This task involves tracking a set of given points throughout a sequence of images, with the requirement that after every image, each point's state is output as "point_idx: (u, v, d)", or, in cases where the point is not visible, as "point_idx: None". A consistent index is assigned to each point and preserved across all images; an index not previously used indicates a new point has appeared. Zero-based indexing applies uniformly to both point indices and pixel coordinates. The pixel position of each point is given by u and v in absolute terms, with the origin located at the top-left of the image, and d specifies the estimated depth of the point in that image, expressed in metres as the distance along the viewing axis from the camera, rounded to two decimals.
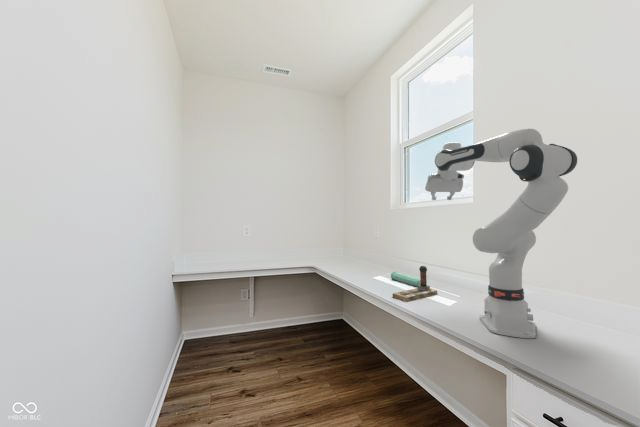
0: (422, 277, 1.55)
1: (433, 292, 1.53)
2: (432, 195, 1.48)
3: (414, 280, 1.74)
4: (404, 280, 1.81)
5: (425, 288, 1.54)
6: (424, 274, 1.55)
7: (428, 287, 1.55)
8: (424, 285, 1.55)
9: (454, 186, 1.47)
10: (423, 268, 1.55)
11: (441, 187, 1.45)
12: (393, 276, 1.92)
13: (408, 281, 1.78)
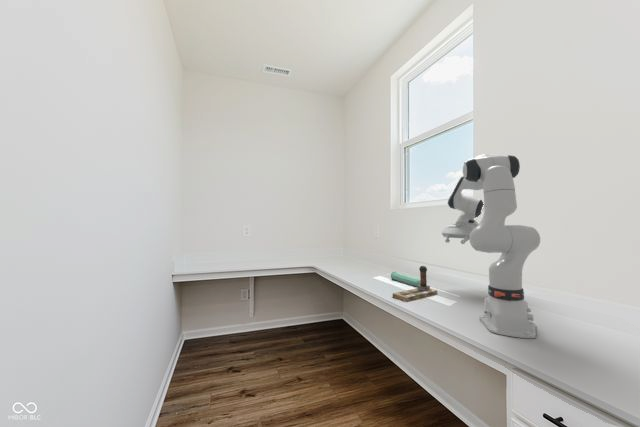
0: (422, 277, 1.55)
1: (433, 292, 1.53)
2: None
3: (414, 280, 1.73)
4: (404, 280, 1.81)
5: (425, 288, 1.54)
6: (424, 274, 1.55)
7: (428, 287, 1.55)
8: (424, 285, 1.55)
9: (466, 230, 1.56)
10: (423, 268, 1.55)
11: (453, 230, 1.63)
12: (393, 276, 1.91)
13: (408, 281, 1.78)
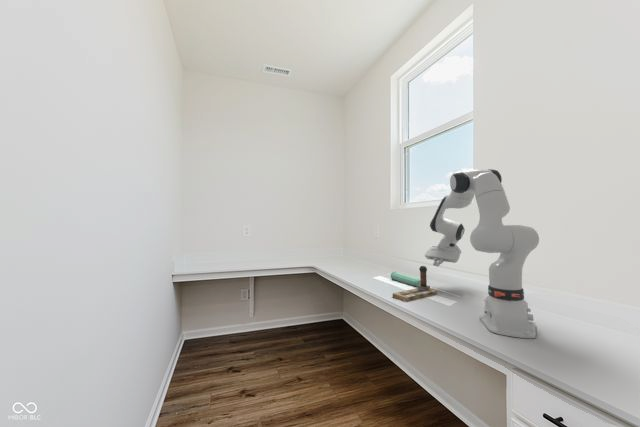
0: (422, 277, 1.55)
1: (433, 292, 1.53)
2: None
3: (414, 280, 1.73)
4: (404, 280, 1.81)
5: (425, 288, 1.54)
6: (424, 274, 1.55)
7: (428, 287, 1.55)
8: (424, 285, 1.55)
9: (447, 253, 1.60)
10: (423, 268, 1.55)
11: (435, 253, 1.67)
12: (393, 276, 1.91)
13: (408, 281, 1.78)
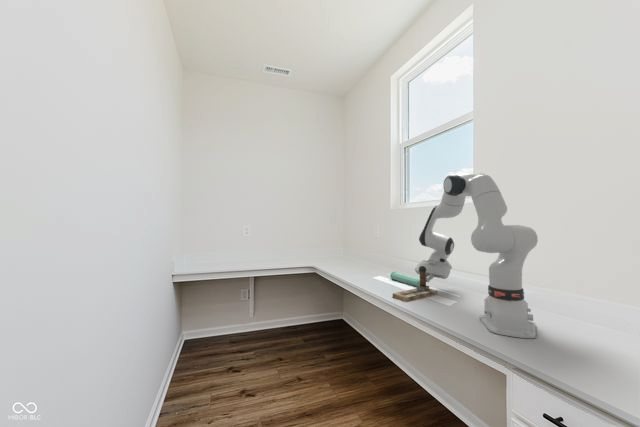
0: (421, 277, 1.55)
1: (433, 292, 1.53)
2: None
3: (414, 280, 1.73)
4: (404, 280, 1.81)
5: (424, 288, 1.54)
6: (423, 274, 1.55)
7: (427, 287, 1.55)
8: (423, 285, 1.55)
9: (437, 269, 1.56)
10: (422, 268, 1.55)
11: None
12: (393, 276, 1.91)
13: (408, 281, 1.78)
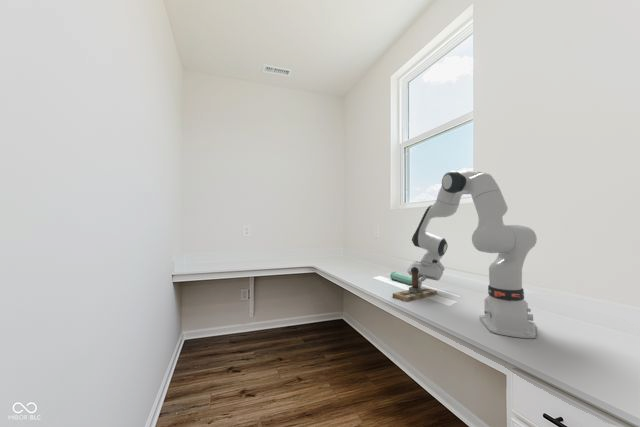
0: (414, 279, 1.52)
1: (433, 292, 1.53)
2: None
3: None
4: (404, 280, 1.81)
5: (416, 290, 1.50)
6: (416, 276, 1.52)
7: (420, 289, 1.52)
8: (416, 287, 1.51)
9: (430, 270, 1.52)
10: (415, 269, 1.51)
11: (418, 269, 1.59)
12: (393, 276, 1.91)
13: (408, 281, 1.78)
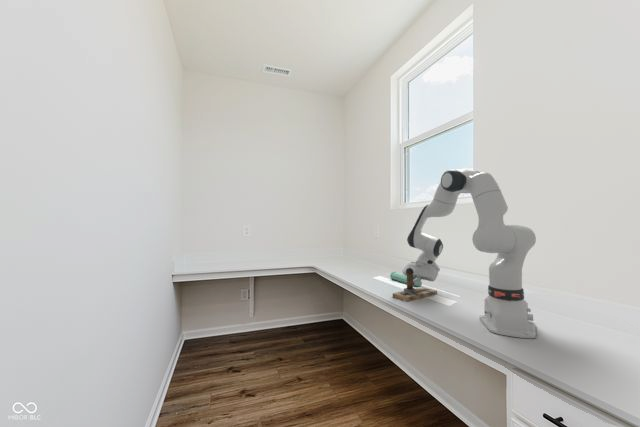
0: (408, 280, 1.50)
1: (433, 292, 1.53)
2: None
3: None
4: (404, 280, 1.81)
5: (411, 291, 1.48)
6: (410, 276, 1.49)
7: (415, 290, 1.50)
8: (410, 288, 1.49)
9: (425, 271, 1.50)
10: (409, 270, 1.49)
11: (413, 270, 1.57)
12: (393, 276, 1.91)
13: None
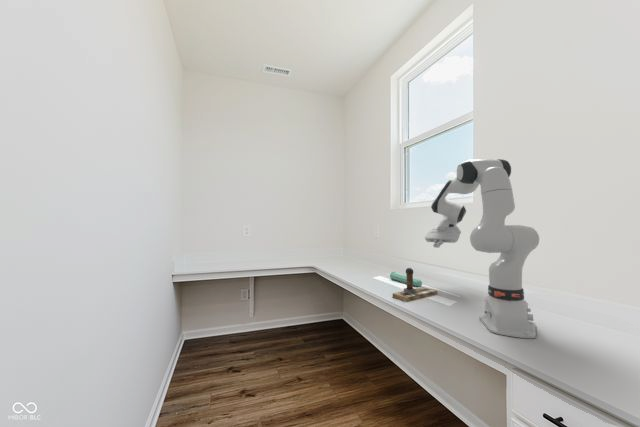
0: (408, 280, 1.50)
1: (433, 292, 1.53)
2: None
3: (414, 280, 1.73)
4: (404, 280, 1.81)
5: (411, 291, 1.48)
6: (410, 276, 1.49)
7: (414, 290, 1.50)
8: (410, 288, 1.49)
9: (447, 234, 1.60)
10: (409, 270, 1.49)
11: (435, 235, 1.66)
12: (392, 276, 1.91)
13: None
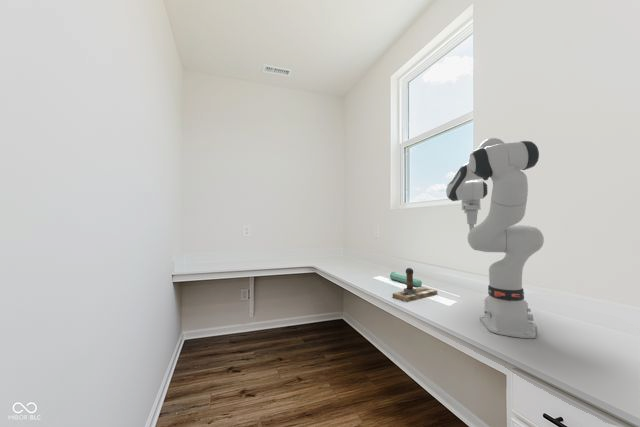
0: (408, 280, 1.50)
1: (433, 292, 1.53)
2: None
3: (414, 280, 1.73)
4: (404, 280, 1.81)
5: (411, 291, 1.48)
6: (410, 276, 1.49)
7: (414, 290, 1.50)
8: (410, 288, 1.49)
9: None
10: (409, 270, 1.49)
11: (467, 219, 1.52)
12: (392, 276, 1.91)
13: None
